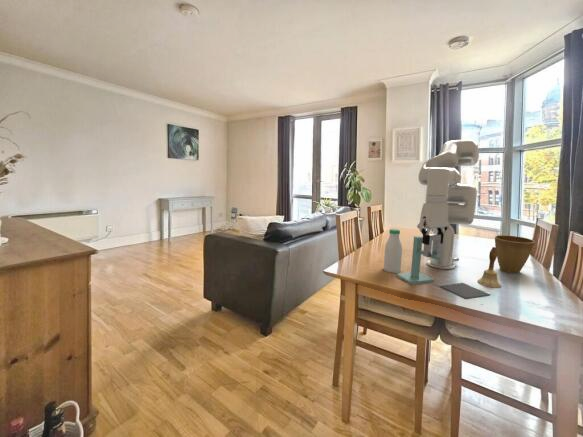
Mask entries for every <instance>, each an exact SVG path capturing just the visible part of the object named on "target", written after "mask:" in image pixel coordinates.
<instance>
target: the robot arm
mask: <svg viewBox="0 0 583 437" xmlns="http://www.w3.org/2000/svg"><path fill="white" fill-rule="evenodd" d="M479 158H480V151H479V145H478V143H477V141H475V140H474V139H456V140H455V139H454V140H449V141H447V142H445V143H443V145H442V146H441V149H440V151H439V153H438V155H436V156H432V157H431V158H429V159H427V160H426V161H424V162H423V164H422V166H421V167H420V169H419V171H418V172H419V173H418V183H420V184H421V185H422V186H426V194H425V202H423V205H422V207H421V212H420V219H419V223H418V224H417V226H416V228H418V229H419V231H420V233H421V235H422V237H423V238H422V245H424V244H426V245H429V242H430V235H429V234H431V233H430V232H431V229H432V234H435V233H437V234H441V247H440V260H436V259H433V258H430V259H428V260H427V261H426V265H427V266H429V267H432V268H434V269H440V270H453V269H455V268H456V264H455V262H459V261H460V258H459V257H453V253H454V244H455V243H454V242H455V235H456V234H455V230H454V228H453V227H452V225H451V224H453V225H465V226H469V225H471V224H472V223H473V222H474V219H475V215H476V214H475V213H476V203H477V198H478V197H477V194H478V193H477V192H478V189H477V188H476V186H475V185H472V184H465V183H464V184H462V183H461V181H462V175H461V173H460V172H459V171H458V170H457V169H456V168H455V167H469V166H470V167H472V166H476V164H477V163H478V162H479ZM432 249H433V240H432V248H431V253H432Z"/></svg>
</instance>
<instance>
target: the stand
mask: <svg viewBox="0 0 583 437" xmlns="http://www.w3.org/2000/svg"><path fill="white" fill-rule="evenodd" d="M422 239H423V236H419V235H417V236H413V241H412V242H413V244H412V245H413V246H412V254H411V256H412V257H411V266H410V267H411V269H410V270H411V271H410V272H403V273H400V272H399V273H395V277H397V278H399V279H401V280H402V281H405V282H406V283H408V284H410V285H417V284H426V283H434V282H435V280H436V279H435V278H433V277H430V276H428V275H426V274H425V273H422V272H420V269H421V261H422V260H421V259H422V256H423V250H424V249H422V248H423V243H422ZM429 258H430V259H431V258H433V259H436V260H440V256H438V255H435V254H432V253H431V257H429Z"/></svg>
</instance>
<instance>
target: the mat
mask: <svg viewBox="0 0 583 437" xmlns="http://www.w3.org/2000/svg"><path fill="white" fill-rule="evenodd" d="M439 287H440V288H442V289H444V290H447V291H448V292H450V293H453V294H454V295H456V296H459V297H461V298H463V299H464V300H465V299H466V300H467V299H475V298H481V297H488V296H491V294H490V293H488V292H486V291H484V290H481V289H478V288H477V287H474V286H471V285H469V284H467V283H464V282H458V283H449V284H442V285H439Z"/></svg>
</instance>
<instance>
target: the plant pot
mask: <svg viewBox="0 0 583 437" xmlns="http://www.w3.org/2000/svg"><path fill="white" fill-rule="evenodd" d="M535 241H536V240H533V239H531V238H527V237H524V236H516V235H515V236H514V235H508V234H507V235H504V234H503V235H495V236H494V244H495V245H494V247H496V250H497V258H496V260H497V262H498V266H499V268H500V270H501V271H503V272H506V273H510V274H511V273H512V274H519V273H520V272H521V271H522V269H523V268H524V266H525V265H526V263H527V262H528V259H529V257H530V255H531V253H532V251H533V247H534V245H535Z"/></svg>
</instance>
